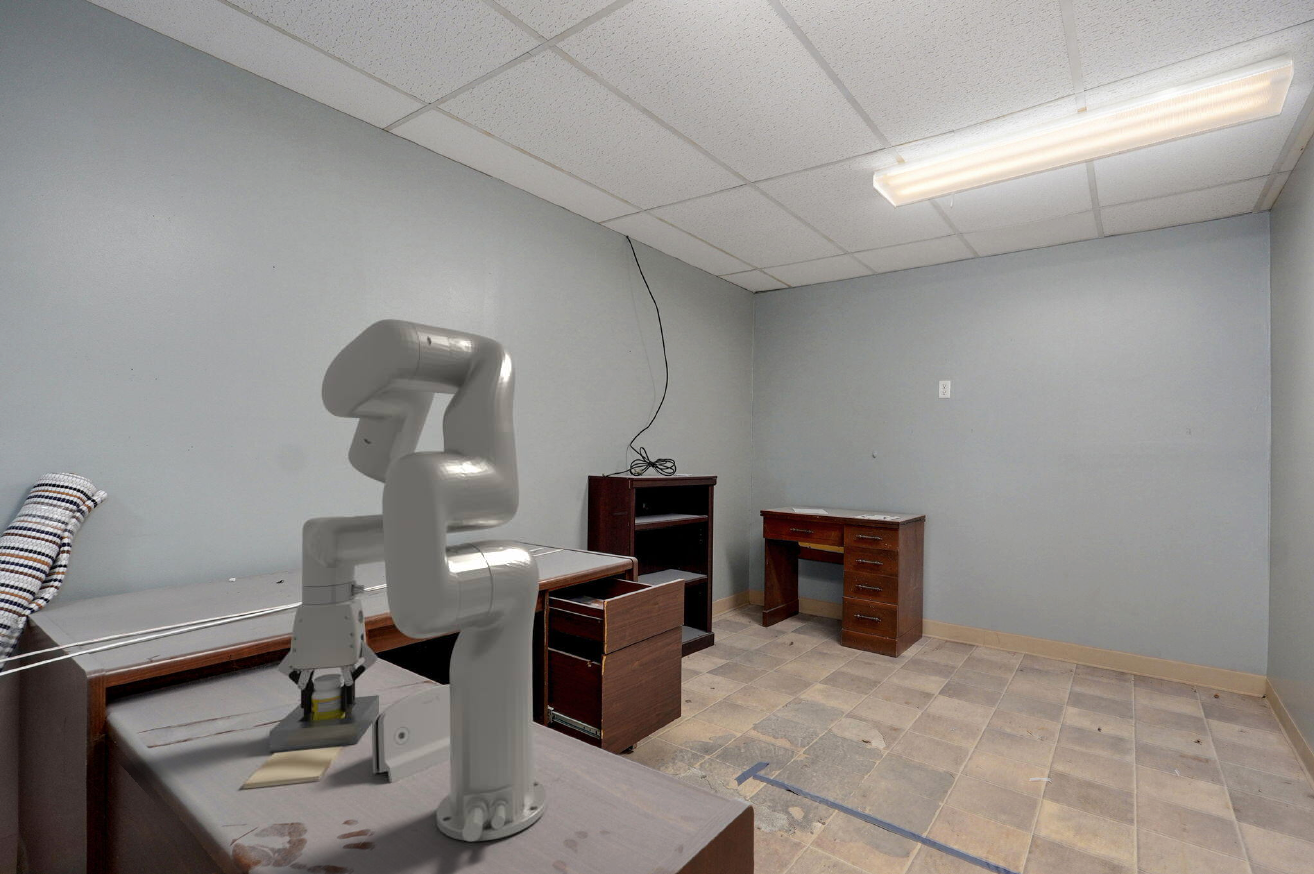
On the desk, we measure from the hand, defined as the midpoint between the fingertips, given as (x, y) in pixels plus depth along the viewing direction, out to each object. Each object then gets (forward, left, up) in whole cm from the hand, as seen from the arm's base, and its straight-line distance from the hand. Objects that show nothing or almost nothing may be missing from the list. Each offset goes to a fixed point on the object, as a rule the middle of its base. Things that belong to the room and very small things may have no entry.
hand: (328, 709), depth 96 cm
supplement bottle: (0, 0, -4) cm, 4 cm away
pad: (-13, 0, -3) cm, 13 cm away
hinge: (-12, -18, -4) cm, 22 cm away
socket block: (0, 0, -3) cm, 3 cm away
